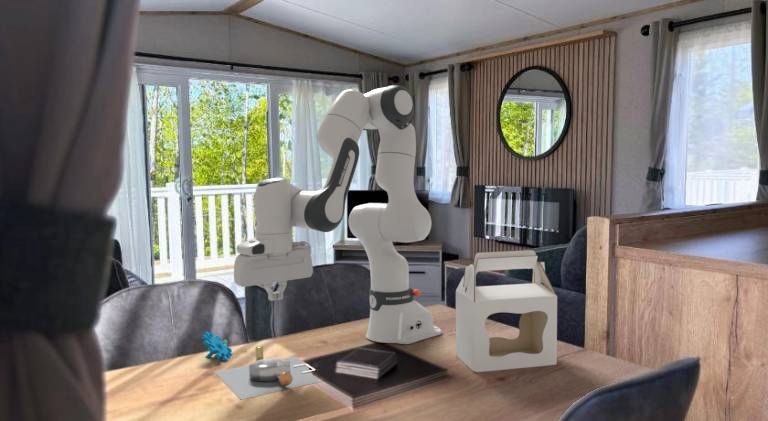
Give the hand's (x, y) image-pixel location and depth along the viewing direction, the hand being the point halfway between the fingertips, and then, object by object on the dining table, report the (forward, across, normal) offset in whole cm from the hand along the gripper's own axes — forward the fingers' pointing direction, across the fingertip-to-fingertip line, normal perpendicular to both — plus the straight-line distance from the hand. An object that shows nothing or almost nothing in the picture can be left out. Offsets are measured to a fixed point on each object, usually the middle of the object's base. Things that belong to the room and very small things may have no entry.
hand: (275, 299), depth 145 cm
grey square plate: (+17, +5, +7) cm, 19 cm away
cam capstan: (+16, +6, +8) cm, 19 cm away
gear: (+17, +9, -15) cm, 25 cm away
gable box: (+17, -47, +34) cm, 60 cm away
